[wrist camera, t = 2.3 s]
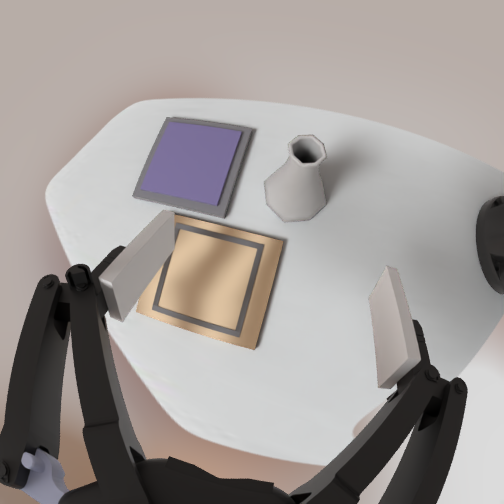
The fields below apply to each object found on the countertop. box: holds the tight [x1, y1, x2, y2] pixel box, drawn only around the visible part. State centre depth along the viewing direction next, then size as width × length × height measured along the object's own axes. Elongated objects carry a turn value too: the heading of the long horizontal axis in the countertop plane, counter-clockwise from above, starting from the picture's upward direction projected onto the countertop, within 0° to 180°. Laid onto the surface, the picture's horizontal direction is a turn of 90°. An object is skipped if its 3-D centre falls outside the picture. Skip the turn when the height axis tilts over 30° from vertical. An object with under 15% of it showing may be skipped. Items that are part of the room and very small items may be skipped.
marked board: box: [136, 214, 283, 350], centre depth 29 cm, size 14×12×1 cm
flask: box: [264, 135, 327, 222], centre depth 26 cm, size 7×7×10 cm
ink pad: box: [132, 117, 252, 218], centre depth 31 cm, size 12×12×1 cm
